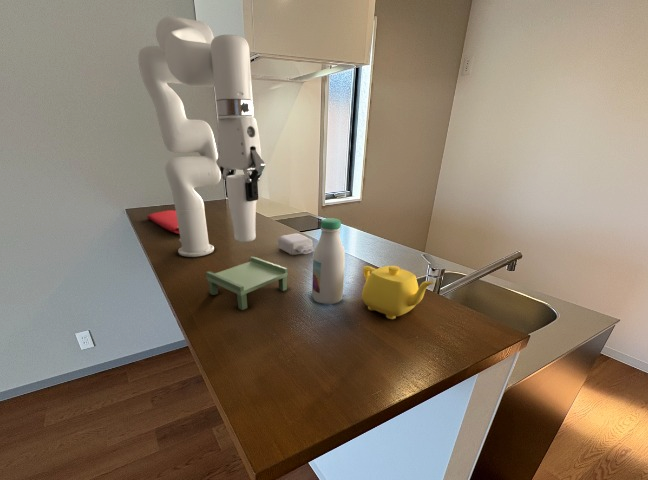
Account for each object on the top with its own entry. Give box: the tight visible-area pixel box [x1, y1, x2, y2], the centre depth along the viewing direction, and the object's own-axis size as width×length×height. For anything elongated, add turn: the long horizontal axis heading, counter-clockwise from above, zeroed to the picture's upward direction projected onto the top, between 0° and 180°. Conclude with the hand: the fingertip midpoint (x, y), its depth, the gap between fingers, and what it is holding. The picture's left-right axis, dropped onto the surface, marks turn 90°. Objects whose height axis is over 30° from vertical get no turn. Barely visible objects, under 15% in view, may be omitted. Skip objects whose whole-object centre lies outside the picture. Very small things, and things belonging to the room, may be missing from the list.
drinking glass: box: [226, 174, 257, 243], centre depth 76 cm, size 7×7×15 cm
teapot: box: [361, 265, 436, 320], centre depth 73 cm, size 18×11×11 cm, turn 39°
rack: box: [205, 256, 289, 311], centre depth 84 cm, size 14×16×6 cm
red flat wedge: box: [146, 209, 180, 235], centre depth 151 cm, size 16×41×4 cm, turn 36°
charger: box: [277, 232, 315, 256], centre depth 113 cm, size 5×9×15 cm
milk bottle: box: [311, 217, 346, 305], centre depth 77 cm, size 8×8×20 cm
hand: (241, 198), depth 75 cm, fingers closed on drinking glass, 6 cm apart
